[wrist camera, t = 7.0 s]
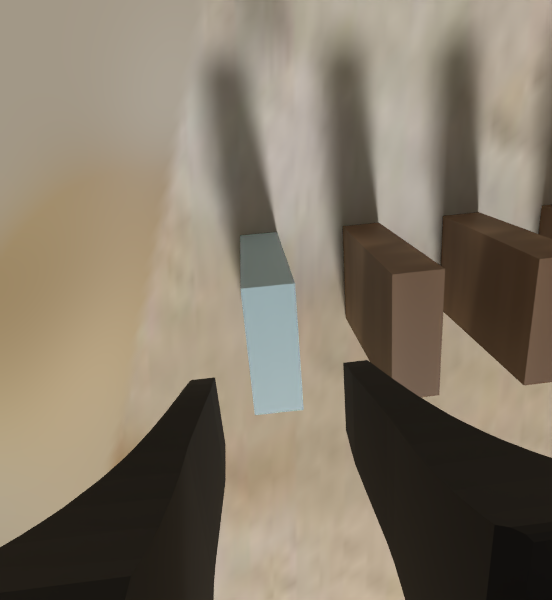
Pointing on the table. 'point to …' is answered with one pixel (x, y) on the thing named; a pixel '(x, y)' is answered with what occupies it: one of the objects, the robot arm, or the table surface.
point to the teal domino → (270, 324)
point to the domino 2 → (501, 291)
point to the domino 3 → (546, 221)
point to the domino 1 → (395, 305)
